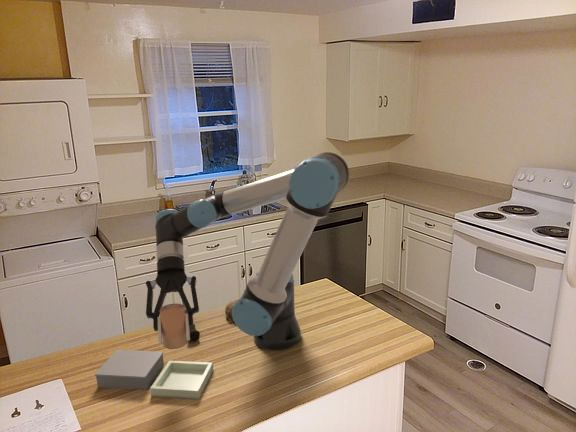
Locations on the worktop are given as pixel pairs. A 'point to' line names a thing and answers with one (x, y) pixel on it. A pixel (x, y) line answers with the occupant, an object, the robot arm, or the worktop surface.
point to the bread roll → (230, 310)
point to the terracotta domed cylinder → (173, 326)
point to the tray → (182, 380)
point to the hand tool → (193, 333)
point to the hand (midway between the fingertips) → (174, 340)
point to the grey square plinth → (130, 369)
